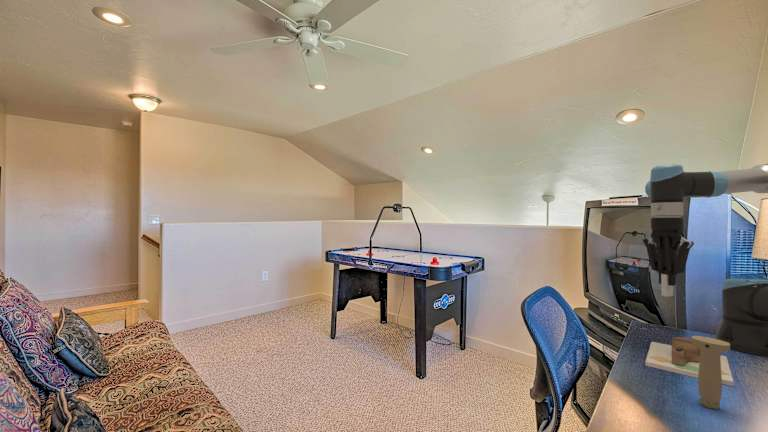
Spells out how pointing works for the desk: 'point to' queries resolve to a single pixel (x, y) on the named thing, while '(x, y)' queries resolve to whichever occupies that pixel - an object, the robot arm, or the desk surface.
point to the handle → (710, 369)
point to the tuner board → (662, 359)
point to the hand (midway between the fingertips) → (667, 295)
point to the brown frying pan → (684, 351)
